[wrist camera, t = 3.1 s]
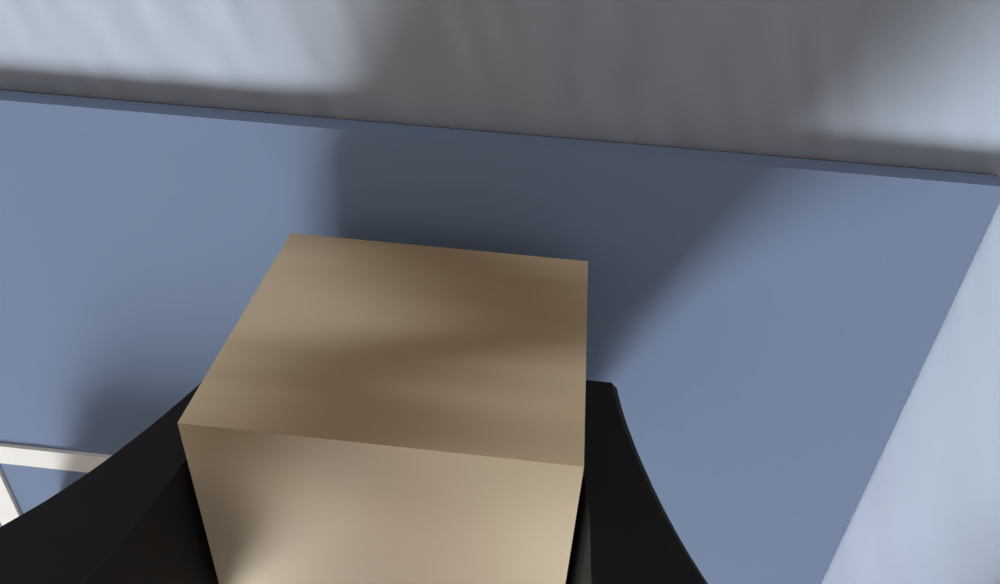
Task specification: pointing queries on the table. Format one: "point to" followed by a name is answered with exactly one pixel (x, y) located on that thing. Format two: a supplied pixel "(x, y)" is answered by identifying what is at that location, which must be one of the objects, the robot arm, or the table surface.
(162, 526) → the robot arm
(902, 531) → the table surface
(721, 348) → the blueprint mat
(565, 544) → the oak block
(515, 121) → the table surface
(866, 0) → the table surface
